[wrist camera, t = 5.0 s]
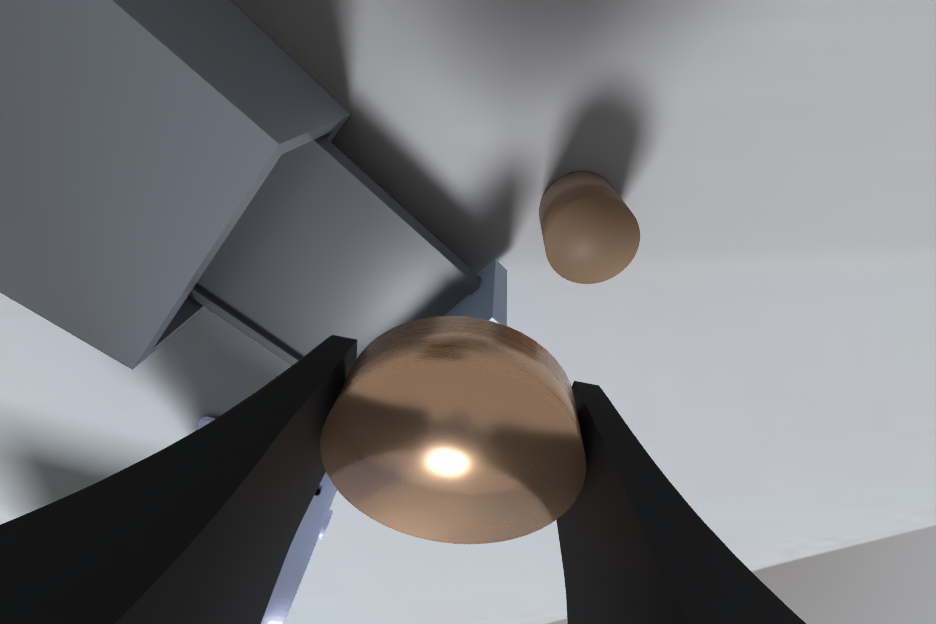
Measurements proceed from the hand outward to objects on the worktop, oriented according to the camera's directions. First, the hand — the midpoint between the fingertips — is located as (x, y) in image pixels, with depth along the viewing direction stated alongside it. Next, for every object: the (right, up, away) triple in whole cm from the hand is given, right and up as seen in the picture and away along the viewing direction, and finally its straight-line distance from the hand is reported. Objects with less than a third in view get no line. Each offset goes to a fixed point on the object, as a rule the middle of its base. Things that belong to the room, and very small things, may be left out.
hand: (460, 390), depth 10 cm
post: (+5, +6, +7) cm, 11 cm away
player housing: (-12, +10, +7) cm, 17 cm away
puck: (0, 0, -1) cm, 1 cm away
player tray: (-6, +4, +9) cm, 11 cm away
